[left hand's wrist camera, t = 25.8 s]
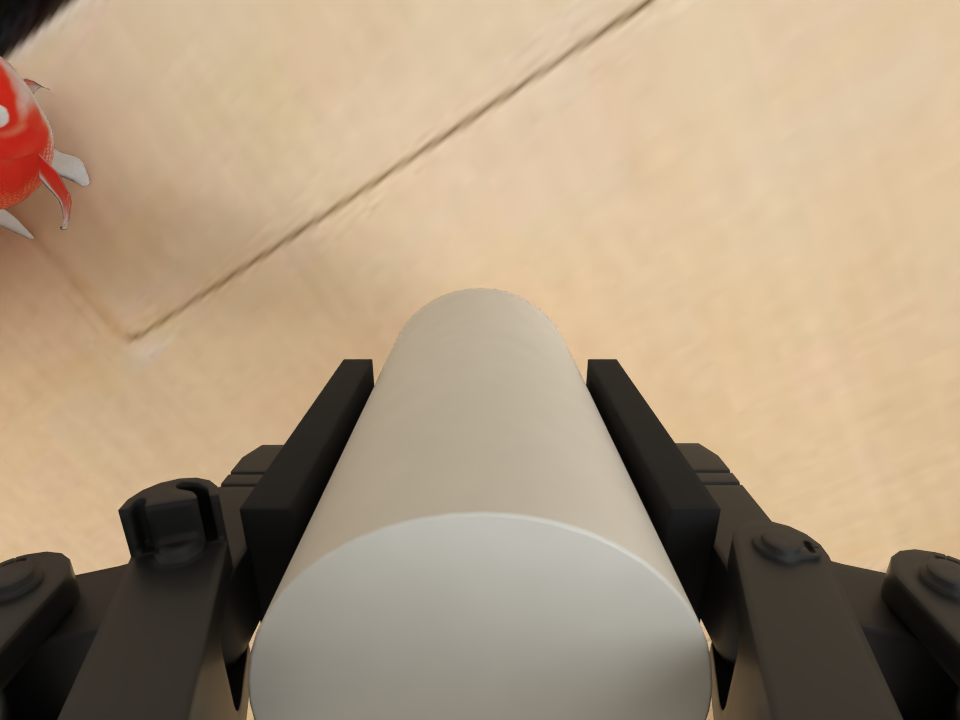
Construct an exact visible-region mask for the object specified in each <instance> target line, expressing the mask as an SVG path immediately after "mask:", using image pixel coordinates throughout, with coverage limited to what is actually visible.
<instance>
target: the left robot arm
mask: <svg viewBox="0 0 960 720" xmlns="http://www.w3.org/2000/svg"><path fill="white" fill-rule="evenodd" d="M586 386H587V388H588V390H589V393H590V395H591V397H592V399H593V401H594V403H595V405H596V407H597V409H598V411H599V413H600V416H601V418H602V420H603V422H604V424H605V426H606V428H607V430H608V432H609V434H610V436H611V439H612V441H613V443H614V445H615V447H616V449H617V451H618V453H619V455H620V457H621V459H622V462H623V464H624V466H625V468H626V470H627V472H628V474H629V476H630V478H631V480H632V482H633V485H634V487H635V489H636V491H637V493H638V495H639V497H640V499H641V501H642V503H643V505H644V508H645V510H646V512H647V514H648V516H649V518H650V520H651V522H652V524H653V526H654V528H655V531H656V533H657V535H658V537H659V539H660V541H661V543H662V545H663V547H664V549H665V551H666V554H667V556H668V558H669V560H670V562H671V564H672V566H673V568H674V570H675V572H676V574H677V577H678V579H679V581H680V583H681V585H682V587H683V589H684V591H685V593H686V595H687V597H688V600H689V602H690V604H691V606H692V608H693V610H694V612H695V614H696V616H697V618H698V621H699V623H700V619H701V620H702V622H703V624H704V626H705V628H706V630H707V632H708V634H709V636H710V638H711V640H712V642H711V647H710V652H709V653H710V657H711V662H712V694H711V698H712V707H713V716H714V720H960V560H958V559H956V558H953V557H950V556H945V555H944V554H940V553H936V552H930V551H923V550H916V549H914V550H905V551H899V552H898V553H896V554H895V555H894V556H892V557H891V560H890V563H889V566H888V569H887V572H886V573H882V572H878V571H873V570H868V569H863V568H859V567H854V566H849V565H844V564H840V563H836V562H833V561H831V560H830V558H829V556H828V554H827V553H826V552H825V550H824V549H823V548H822V546H821V545H820V544H819V543H817V542H816V541H815V540H813V539H812V538H811V537H809V536H808V535H806V534H805V533H802V532H800V531H798V530H796V529H794V528H792V527H790V526H786V525H782V524H779V523H775V522H772V521H771V520H770V519H769V518H768V516H767V515H766V514H765V513H764V511H763V510H762V509H761V508H760V506H759V505H758V504H757V503H756V502H755V500H754V499H753V498H752V497H751V495H750V494H749V493H748V492H747V491H746V489H745V488H744V487H743V486H742V485H740V482H739V481H738V480H737V478H736V477H735V476H734V475H733V473H730V470H729V468H728V467H727V466H726V465H725V464H724V462H723V461H722V460H721V459H720V457H719V456H718V455H716V454H715V453H713V452H711V451H710V450H708V449H707V448H705V447H703V446H702V445H700V444H699V443H674V441H673V440H672V438H671V437H670V435H669V434H668V433H667V431H666V430H665V428H664V427H663V425H662V424H661V422H660V421H659V420H658V418H657V417H656V415H655V414H654V412H653V411H652V410H651V408H650V407H649V405H648V404H647V402H646V401H645V400H644V398H643V397H642V395H641V394H640V392H639V391H638V390H637V388H636V387H635V385H634V384H633V382H632V381H631V379H630V378H629V377H628V375H627V374H626V372H625V371H624V369H623V368H622V367H621V365H620V364H619V362H618V361H617V359H588V368H587V381H586ZM373 388H374V377H373V363H372V359H344V360H343V361H342V363H341V364H340V366H339V367H338V369H337V370H336V371H335V373H334V374H333V376H332V377H331V379H330V380H329V381H328V383H327V384H326V386H325V387H324V389H323V390H322V391H321V393H320V394H319V396H318V397H317V399H316V400H315V402H314V403H313V404H312V406H311V407H310V409H309V410H308V412H307V413H306V414H305V416H304V417H303V419H302V420H301V422H300V423H299V424H298V426H297V427H296V429H295V430H294V432H293V433H292V434H291V436H290V437H289V439H288V440H287V442H286V443H285V445H262V446H260V447H258V448H257V449H255V450H254V451H252V452H250V453H249V454H247V455H246V456H244V457H243V458H242V459H241V460H240V461H239V463H238V464H237V465H236V466H235V467H234V469H233V470H232V471H231V475H228V476H227V477H226V479H225V480H224V481H223V482H222V484H221V487H217V486H216V485H215V484H214V483H212V482H211V481H210V480H205V479H200V478H182V479H176V480H171V481H167V482H163V483H159V484H157V485H154V486H152V487H149V488H147V489H144V490H142V491H141V492H139V493H138V494H136V495H134V496H133V497H131V498H130V499H128V500H127V501H126V502H125V503H124V504H123V506H122V507H121V508H120V509H119V510H118V511H119V515H120V519H121V522H122V526H123V529H124V533H125V536H126V540H127V543H128V547H129V551H130V554H131V559H130V561H129V563H128V564H125V565H121V566H118V567H113V568H108V569H103V570H99V571H94V572H89V573H84V574H80V575H75V574H74V571H73V568H72V565H71V562H70V559H69V558H67V557H66V556H64V555H63V554H62V553H54V552H41V553H34V554H27V555H23V556H19V557H16V558H12V559H9V560H7V561H4V562H2V563H0V720H246V717H247V709H248V700H249V687H248V671H249V661H250V653H251V652H250V647H249V642H250V640H251V638H252V636H253V633H254V631H255V629H256V627H257V625H258V623H259V621H260V622H262V620H263V618H264V616H265V614H266V612H267V610H268V607H269V605H270V603H271V601H272V599H273V597H274V595H275V593H276V591H277V589H278V587H279V584H280V582H281V580H282V578H283V576H284V574H285V572H286V570H287V568H288V566H289V564H290V561H291V559H292V557H293V555H294V553H295V551H296V549H297V547H298V545H299V543H300V541H301V538H302V536H303V534H304V532H305V530H306V528H307V526H308V524H309V522H310V520H311V518H312V515H313V513H314V511H315V509H316V507H317V505H318V503H319V501H320V499H321V497H322V495H323V492H324V490H325V488H326V486H327V484H328V482H329V480H330V478H331V476H332V474H333V471H334V469H335V467H336V465H337V463H338V461H339V459H340V457H341V455H342V453H343V451H344V448H345V446H346V444H347V442H348V440H349V438H350V436H351V434H352V432H353V430H354V428H355V425H356V423H357V421H358V419H359V417H360V415H361V413H362V411H363V409H364V407H365V405H366V402H367V400H368V398H369V396H370V394H371V392H372V390H373Z"/></svg>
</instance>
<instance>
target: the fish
mask: <svg viewBox="0 0 960 720" xmlns="http://www.w3.org/2000/svg"><path fill="white" fill-rule="evenodd" d="M40 87H42V86H41V85H39V84H37V83H36V82H34V81H31V80H28V79H24V80H23V79H22V78H21V77H20V75H19V74H18V73H17V72H16V71H15V69H14V68H13V67H12V66H11V65H10V64H9V63H8V62H7V61H6V60H4V59H3V58H2V57H0V226H2V227H4V228H7V229H9V230H11V231H13V232H16V233H18V234H20V235H22V236H24V237H26V238H29V239H33V238H34V237H33V236H32V235H31V234H30V233H29V232H28V230H27V229H26V228H25V227H24V226H23V225H22V224H21V223H20V222H19V221H18V220H17V219H16V218H15V217H14V216H13V215H11V214H10V213H9V212H8V211H6V210H5V208H8V207H10V206H13V205H16V204H18V203H20V202H21V201H23V200H24V199H26V198H27V197H28V196H29V195H30V194H32V193H33V192H34V191H35V190H36V189H38V188H39V186H40V185H41V184H42V182H43V183H44V184H45V185H46V186H47V187H48V189H49V190H50V191H51V192H52V193H53V194H54V195H55V196H56V197H57V198H58V200H59V202H60V204H61V208H62V211H63V216H64V222H63V225H62V227H60V228H61V230H66V228H67V225H68V220H69V214H70V209H71V198H70V194H69V192H68V190H67V188H66V187H65V185H64V183H63V181H62V179H61V177H65V178H67V179H69V180H72V181H74V182H76V183H78V184H79V185H81V186H87V185H89V183H90V180H89V177H88V174H87V171H86V169H85V167H84V164H83V163H82V161H81V160H80V159H79V158H77V157H75V156H72V155H68V154H64V153H62V152H59V151H58V150H56V149H55V148H54V136H53V132H52V128H51V126H50V124H49V121H48V119H47V117H46V115H45V113H44V111H43V109H42V108H41V106H40V104H39V102H38V100H37V99H36V97H35V96H34V94H33V93H34V92H35V91H36V90H38V89H39V88H40ZM43 88H45V87H43ZM46 89H47V88H46ZM49 90H50V89H49ZM60 176H61V177H60Z"/></svg>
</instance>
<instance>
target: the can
mask: <svg viewBox="0 0 960 720" xmlns="http://www.w3.org/2000/svg"><path fill="white" fill-rule="evenodd" d="M248 687H249V698H250V705H251V708H252V712H253V716H254V720H706V718H707V715H708V712H709V708H710V701H711V694H712V662H711V657H710V653H709V648H708V644H707V640H706V637H705V635H704V633H703V630H702V628H701V626H700V623H699V621H698V618H697V616H696V614H695V612H694V610H693V608H692V606H691V604H690V602H689V600H688V597H687V595H686V593H685V591H684V589H683V587H682V585H681V583H680V581H679V579H678V577H677V574H676V572H675V570H674V568H673V566H672V564H671V562H670V560H669V558H668V556H667V554H666V551H665V549H664V547H663V545H662V543H661V541H660V539H659V537H658V535H657V533H656V531H655V528H654V526H653V524H652V522H651V520H650V518H649V516H648V514H647V512H646V510H645V508H644V505H643V503H642V501H641V499H640V497H639V495H638V493H637V491H636V489H635V487H634V485H633V482H632V480H631V478H630V476H629V474H628V472H627V470H626V468H625V466H624V464H623V462H622V459H621V457H620V455H619V453H618V451H617V449H616V447H615V445H614V443H613V441H612V439H611V436H610V434H609V432H608V430H607V428H606V426H605V424H604V422H603V420H602V418H601V416H600V413H599V411H598V409H597V407H596V405H595V403H594V401H593V399H592V397H591V395H590V393H589V390H588V388H587V386H586V384H585V382H584V380H583V378H582V376H581V374H580V372H579V369H578V367H577V365H576V363H575V361H574V359H573V357H572V355H571V353H570V351H569V349H568V346H567V344H566V342H565V340H564V338H563V336H562V334H561V333H560V331H559V330H558V328H557V326H556V325H555V324H554V323H553V321H552V320H551V319H550V318H549V317H548V316H547V315H546V314H545V313H544V312H543V311H542V310H541V309H539V308H538V307H537V306H535V305H534V304H532V303H531V302H529V301H527V300H525V299H523V298H522V297H520V296H517V295H514V294H511V293H509V292H505V291H500V290H496V289H485V288H476V289H466V290H460V291H456V292H452V293H449V294H446V295H444V296H441V297H439V298H437V299H435V300H433V301H432V302H430V303H428V304H427V305H425V306H424V307H422V308H421V309H420V310H419V311H418V312H417V313H415V314H414V315H413V316H412V318H411V319H410V320H409V321H408V322H407V323H406V325H405V326H404V328H403V329H402V330H401V332H400V334H399V336H398V338H397V340H396V342H395V344H394V346H393V348H392V350H391V352H390V354H389V356H388V359H387V361H386V363H385V365H384V367H383V369H382V371H381V373H380V375H379V377H378V379H377V382H376V384H375V386H374V388H373V390H372V392H371V394H370V396H369V398H368V400H367V402H366V405H365V407H364V409H363V411H362V413H361V415H360V417H359V419H358V421H357V423H356V425H355V428H354V430H353V432H352V434H351V436H350V438H349V440H348V442H347V444H346V446H345V448H344V451H343V453H342V455H341V457H340V459H339V461H338V463H337V465H336V467H335V469H334V471H333V474H332V476H331V478H330V480H329V482H328V484H327V486H326V488H325V490H324V492H323V495H322V497H321V499H320V501H319V503H318V505H317V507H316V509H315V511H314V513H313V515H312V518H311V520H310V522H309V524H308V526H307V528H306V530H305V532H304V534H303V536H302V538H301V541H300V543H299V545H298V547H297V549H296V551H295V553H294V555H293V557H292V559H291V561H290V564H289V566H288V568H287V570H286V572H285V574H284V576H283V578H282V580H281V582H280V584H279V587H278V589H277V591H276V593H275V595H274V597H273V599H272V601H271V603H270V605H269V607H268V610H267V612H266V614H265V616H264V618H263V620H262V622H261V624H260V626H259V628H258V630H257V633H256V636H255V640H254V643H253V647H252V650H251V653H250V661H249V671H248Z"/></svg>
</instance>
